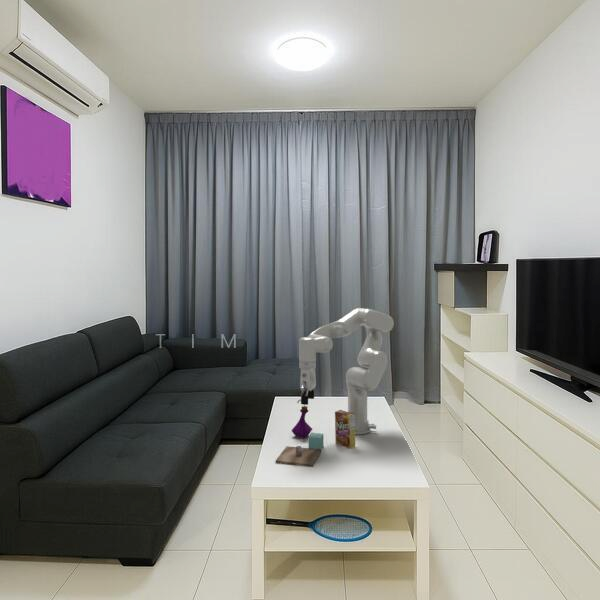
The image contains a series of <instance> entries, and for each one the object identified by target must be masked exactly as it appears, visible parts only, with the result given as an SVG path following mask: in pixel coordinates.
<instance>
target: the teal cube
mask: <svg viewBox="0 0 600 600" xmlns="http://www.w3.org/2000/svg"><path fill="white" fill-rule="evenodd" d="M307 437H308V448H311V449H321V451H322V450H323V448H324V446H325V445H324V433H321V432H320V433H319V432H310V433H309V435H308V436H307Z"/></svg>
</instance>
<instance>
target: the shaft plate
mask: <svg viewBox="0 0 600 600" xmlns="http://www.w3.org/2000/svg"><path fill="white" fill-rule="evenodd" d="M321 453H322V450H321V449H311V448H309V447H302V446H301V445H296V446H290V445H289V446H288V445H287V446H285V447H284V449H283V450H282V452H281V453H280V454H279V456H278V457H277V458H276V459H275V460H274V462H275V464H280V463H281V464H282V465H291V466H300V467H301V466H302V467H311V468H312V467H314V466H315V464H316V463H317V460H318V458H319V457H320V455H321Z"/></svg>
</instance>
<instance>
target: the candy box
mask: <svg viewBox="0 0 600 600" xmlns="http://www.w3.org/2000/svg"><path fill="white" fill-rule="evenodd" d="M334 429H335V430H334V433H335V435H334V437H335V438H334V439H335V444H336V445H338V446H339V445H340V446H343V447H345V448H348V449H352V448H355V447H356V434H355V414H353V413H350V412H348V411H345V410H342V409H339V410H335V411H334Z"/></svg>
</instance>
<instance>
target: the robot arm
mask: <svg viewBox="0 0 600 600" xmlns="http://www.w3.org/2000/svg"><path fill="white" fill-rule="evenodd" d="M394 325H395V322H394V318H393V317H392V316H390V315H388V314H387V313H383V312H381V311H377V310H375V309H371V308H363V307H357V308H354V309H352V310H350V312H348V313H346V315H344V316H342V317H341V318H340V319H337V320H336V321H333V322H331V323H328V324H326V325H323V326H320V327H318V328H317V329H315V330H314V331H312V332H311V333H310V334H309V335H308V336H303V337H301V338H299V342H298V346H299V347H298V350H299V352H298V353H299V354H298V357H299V358H298V360H299V361H298V363H299V364H298V365H299V369H300V377H299V378H300V381H299V383H300V384H299V386H300V399H301V401H300V404H301V405H303V406H304V405H305V406H307V405H309V400H315V388H316V386H317V380H316V368H317V367H316V366H317V364H316V363H317V358H316V357H317V354H316V353H328V352H330V351H331V350H332V349H333V347H334V342H333V340H332V339H337V338H338V339H339V338H343V337H347V336H349V335H350V334H352V333H353V332H354V331H356V330H357V329H359V328H360V327H362V326H363V327H364V329H365V332H366V336H365V337H366V338H365V340H364V342H363V345H362V347H361V348H360V351H359V354H358V355H357V358H356V359H357V363H358V365H360V366H361V367H358V366H353V367H349V369H348V370H347V371H346V373H345V382H346V388H347V412H350V413H353V414H355V435H366V434H368V433H370V432H371V429H372V430H377V424H375V423H370V422H369V419H368V392H367V391H369V392H370V391H374V390H375V389H376V388H377V387H378V386H379V383H380V381H381V380H382V378H383V375H384V373H385V371H386V369H387V366H388V356H387V354H386V352H384V351H382V350H381V348H382V346H383V341H384V340H383V336H382V333H388V332H390V331H392V330H393V328H394ZM366 368H367V369H366Z"/></svg>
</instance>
